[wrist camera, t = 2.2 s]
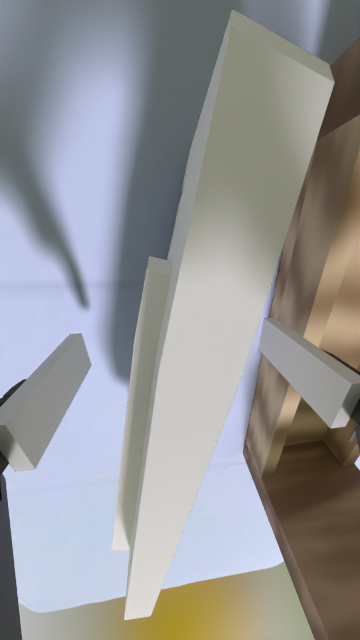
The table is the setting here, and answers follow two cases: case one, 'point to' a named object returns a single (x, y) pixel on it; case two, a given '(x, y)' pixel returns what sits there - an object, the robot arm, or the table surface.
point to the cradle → (288, 405)
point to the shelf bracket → (212, 286)
